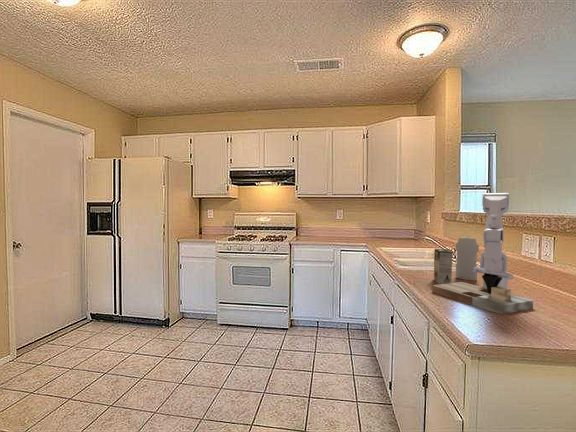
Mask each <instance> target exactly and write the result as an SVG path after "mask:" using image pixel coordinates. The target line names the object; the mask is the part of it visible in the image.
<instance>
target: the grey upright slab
mask: <svg viewBox="0 0 576 432" xmlns="http://www.w3.org/2000/svg"><path fill="white" fill-rule="evenodd" d="M455 250H456V264H455V278H456V279H461V280H465V281H473V282H475V281H478V272H473V267H478V265H477V263H478V262H477V259H478V257H477V256H478V253H479V251H480V245H479V244H478V241H477V239H476V238H473V237H470V236H469V237H467V236H464V237H458V241H457V242H456V243H455Z"/></svg>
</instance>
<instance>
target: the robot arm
mask: <svg viewBox="0 0 576 432" xmlns="http://www.w3.org/2000/svg"><path fill="white" fill-rule="evenodd" d="M481 202H482V210H483V213H486V214H487V216H486V219H485V229H483V235H482V236H483V247H484V249H483V250H484V251H483V252H481V254H480V260H479V261H480V262H479V266H477V267H473V272H477V274H478V273H479V274H482V275H481V278H482V280H483V281H482V287H483V288H487V290H488V294H491V287H497V286H501V287H505V288H508V282H509V280H514V274H513V273H509V272H507V271H508V256H507V254H506V253H504V252H503V244H504V239H505V238H504V237H505V232H504V223H503V221H504V219H503V217H502V216H503V215H504V214H507V213H509V205H510V193H509V192H502V193H501V192H496V193H495V192H494V193H491V192H490V193H487V192H484V193H483V194H482V201H481Z"/></svg>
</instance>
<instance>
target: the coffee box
mask: <svg viewBox="0 0 576 432" xmlns="http://www.w3.org/2000/svg"><path fill="white" fill-rule="evenodd" d="M433 254H434V256H433V257H434V258H433V259H434V260H433V281H435V282H436V283H437V285H439V284H447V283H452V277H453V276H452V275H453V273H452V272H453V270H452V269H453V251H452V250H449V249H448V248H434V253H433Z"/></svg>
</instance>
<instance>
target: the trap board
mask: <svg viewBox="0 0 576 432" xmlns="http://www.w3.org/2000/svg"><path fill="white" fill-rule="evenodd" d="M431 292H432V293H434V294H437V295H440V296H442V297H446V298H449V299H453V300H456V301H459V302H462V303H464V304H469V305H471V306H474V307H477V308H480V309H482V310H487V311H489V312H492V313H496V314H499V315H506V314H512V313H517V312H522V311H526V310H532V309H534V300H533V299H530V298H525V297H523V296H518V295H513V294H511V300H505V301H502V300H498V299H495V298H491V294H488V290H487V288H483V286H480V285H479V286H478V285H475V284H471V283H467V282H464V281H457V282H451V283H447V284H433V285H432V288H431Z"/></svg>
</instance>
